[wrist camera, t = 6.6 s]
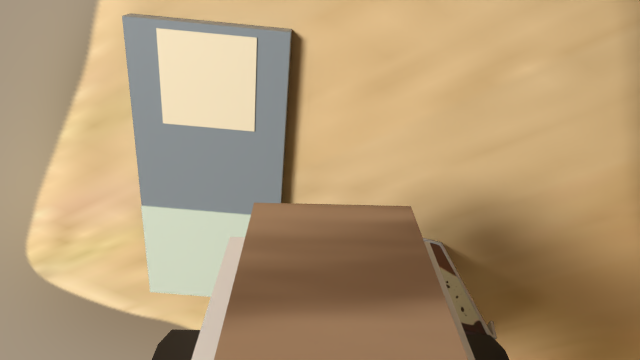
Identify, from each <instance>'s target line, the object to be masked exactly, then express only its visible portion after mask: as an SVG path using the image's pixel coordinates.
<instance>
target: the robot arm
mask: <svg viewBox="0 0 640 360" xmlns="http://www.w3.org/2000/svg"><path fill="white" fill-rule="evenodd" d="M244 240H245V237H230V238H229V241H228V244H227V247H226V251H225V254H224V257H223V260H222V263H221V267H220V270H219V273H218V276H217V279H216V282H215V286H214V289H213V292H212V295H211V298H210V302H209V305H208V308H207V311H206V314H205V317H204V321H203V324H202V327H201V330H171V331H170V332H169V333H168V334H167V336H166V337H165V338H164V339H163V340H162V341H161V342H160V343H159V344H158V346H157V349H156V351H155V353H154V356H153V358H152V360H214V357H215V353H216V349H217V346H218V342H219V338H220V334H221V330H222V326H223V322H224V318H225V314H226V310H227V306H228V303H229V299H230V295H231V291H232V287H233V283H234V279H235V275H236V271H237V267H238V264H239V260H240V256H241V252H242V248H243V244H244ZM424 243H425V246H426V248H427V251H428V254H429V256H430V259H431V262H432V264H433V267H434V270H435V272H436V275H437V278H438V280H439V283H440V286H441V288H442V291H443V294H444V296H445V299H446V302H447V304H448V307H449V310H450V312H451V315H452V318H453V320H454V323H455V326H456V328H457V331H458V334H459V336H460V339H461V342H462V344H463V347H464V350H465V352H466V355H467V358H468V360H509V358H508V356H507V354H506V352H505V350H504V349H503V348H502V347H501V346H500V345H499V344H498V342H497V341H496V340H495V339H494V338H493V337H492V336H491V335H468V334H465V332H464V330H463V327H462V324H461V322H460V319H459V317H458V314H457V312H456V309H455V306H454V304H453V301H452V299H451V296H450V294H449V291H448V288H447V286H446V283H445V281H444V278H443V276H442V273H441V270H440V268H439V265H438V263H437V260H436V258H435V255H434V253H433V250H432V247H431V245H430V242H424Z"/></svg>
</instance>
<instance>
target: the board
mask: <svg viewBox="0 0 640 360" xmlns="http://www.w3.org/2000/svg"><path fill="white" fill-rule="evenodd" d="M122 19H123V29H124V39H125V48H126V58H127V68H128V77H129V87H130V97H131V106H132V116H133V126H134V135H135V145H136V155H137V164H138V174H139V184H140V193H141V203H142V206H141V209H142V218H143V228H144V237H145V247H146V257H147V266H148V276H149V285H150V292H157V293H169V294H182V295H195V296H207V297H211V295H212V292H213V289H214V286H215V282H216V279H217V276H218V273H219V270H220V267H221V263H222V260H223V257H224V254H225V251H226V247H227V244H228V241H229V238H230V237H245V236H246V232H247V228H248V224H249V221H250V217H251V213H252V209H253V205H254V203H282V188H283V172H284V155H285V138H286V122H287V105H288V88H289V72H290V55H291V38H292V29H284V28H274V27H264V26H253V25H243V24H233V23H222V22H212V21H202V20H191V19H181V18H171V17H160V16H150V15H140V14H127V15H124V16H122Z"/></svg>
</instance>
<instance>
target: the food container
mask: <svg viewBox="0 0 640 360" xmlns="http://www.w3.org/2000/svg"><path fill="white" fill-rule="evenodd" d="M423 240H424V242H430V245H431V247H432V250H433V253H434V255H435V258H436V260H437V263H438V265H439V268H440V270H441V273H442V276H443V278H444V281H445V283H446V286H447V288H448V291H449V294H450V296H451V299H452V301H453V304H454V306H455V309H456V312H457V314H458V317H459V319H460V322H461V324H462V327H463V330H464V332H465V334H468V335H491V336H492V337H493V338H494V339H496V338H497V337H496V332H495V327H494V323H493V321H490V322H489V324H488V325H486V323H485V321H484V319H483V317H482V316H481V314H480V312H479V310H478V308H477V306H476V304H475V303H474V301H473V299H472V297H471V295H470V293H469V292H468V290H467V288H466V286H465V284H464V282H463V280H462V279H461V277H460V275H459V273H458V271H457V269H456V268H455V266H454V264H453V262H452V260H451V258H450V256H449V255H448V253H447V251H446V249H445V247H444V245H443V244H442V242H438V241H434V240H430V239H426V238H423Z"/></svg>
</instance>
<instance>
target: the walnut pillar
mask: <svg viewBox="0 0 640 360" xmlns="http://www.w3.org/2000/svg"><path fill="white" fill-rule="evenodd" d="M214 360H468V358H467V355H466V352H465V350H464V347H463V344H462V342H461V339H460V336H459V334H458V331H457V328H456V326H455V323H454V320H453V318H452V315H451V312H450V310H449V307H448V304H447V302H446V299H445V296H444V294H443V291H442V288H441V286H440V283H439V280H438V278H437V275H436V272H435V270H434V267H433V264H432V262H431V259H430V256H429V254H428V251H427V248H426V246H425V243H424V240H423V238H422V235H421V232H420V230H419V227H418V224H417V222H416V219H415V216H414V214H413V211H412V208H411V206H373V205H331V204H289V203H254V205H253V209H252V213H251V217H250V221H249V224H248V228H247V232H246V236H245V240H244V244H243V248H242V252H241V256H240V260H239V264H238V267H237V271H236V275H235V279H234V283H233V287H232V291H231V295H230V299H229V303H228V306H227V310H226V314H225V318H224V322H223V326H222V330H221V334H220V338H219V342H218V346H217V349H216V353H215V357H214Z"/></svg>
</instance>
